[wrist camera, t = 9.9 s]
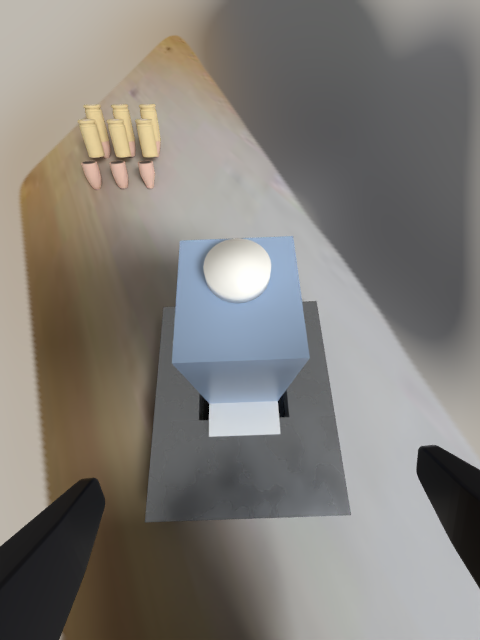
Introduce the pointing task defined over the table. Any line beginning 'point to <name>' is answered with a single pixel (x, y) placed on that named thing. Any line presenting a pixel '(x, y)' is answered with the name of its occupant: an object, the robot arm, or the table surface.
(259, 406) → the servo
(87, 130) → the ammunition
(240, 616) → the table surface
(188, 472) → the plate
